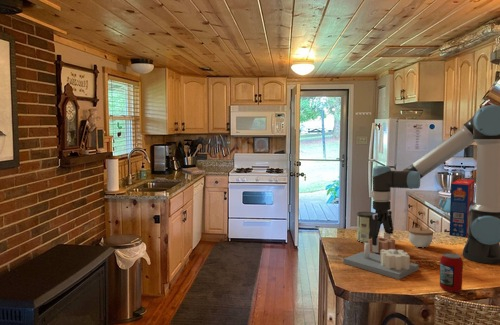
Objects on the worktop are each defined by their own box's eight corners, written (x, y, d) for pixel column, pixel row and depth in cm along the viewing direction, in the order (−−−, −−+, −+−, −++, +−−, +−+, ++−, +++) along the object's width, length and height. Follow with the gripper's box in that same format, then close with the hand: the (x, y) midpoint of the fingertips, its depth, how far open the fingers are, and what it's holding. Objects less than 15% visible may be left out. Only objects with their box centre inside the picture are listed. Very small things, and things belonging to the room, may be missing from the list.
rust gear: (397, 250, 169) (397, 239, 169) (386, 255, 163) (386, 243, 163) (377, 246, 177) (377, 235, 176) (366, 250, 170) (366, 239, 170)
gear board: (418, 269, 149) (419, 249, 149) (398, 279, 139) (399, 258, 138) (364, 255, 167) (364, 237, 167) (343, 263, 157) (343, 244, 156)
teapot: (447, 209, 278) (447, 194, 277) (469, 212, 266) (469, 197, 265) (437, 211, 268) (437, 196, 268) (459, 215, 257) (460, 199, 256)
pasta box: (466, 237, 198) (468, 184, 196) (449, 235, 202) (451, 183, 201) (472, 227, 220) (474, 180, 218) (457, 225, 225) (458, 179, 223)
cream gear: (402, 261, 153) (402, 249, 152) (411, 269, 143) (411, 256, 143) (378, 261, 153) (378, 249, 153) (385, 269, 144) (385, 256, 143)
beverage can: (435, 285, 133) (436, 252, 132) (453, 285, 134) (455, 251, 133) (447, 293, 126) (448, 258, 126) (466, 292, 127) (467, 258, 126)
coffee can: (376, 238, 195) (377, 211, 194) (379, 244, 185) (379, 215, 184) (355, 237, 197) (356, 211, 196) (357, 243, 187) (357, 215, 186)
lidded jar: (422, 242, 188) (423, 224, 187) (437, 248, 178) (438, 229, 177) (403, 244, 186) (404, 225, 185) (418, 250, 175) (418, 230, 175)
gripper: (386, 196, 179) (386, 243, 180) (360, 202, 164) (360, 253, 165) (401, 198, 173) (401, 246, 174) (376, 204, 158) (376, 257, 160)
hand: (381, 249), depth 170 cm, fingers closed on rust gear, 10 cm apart
